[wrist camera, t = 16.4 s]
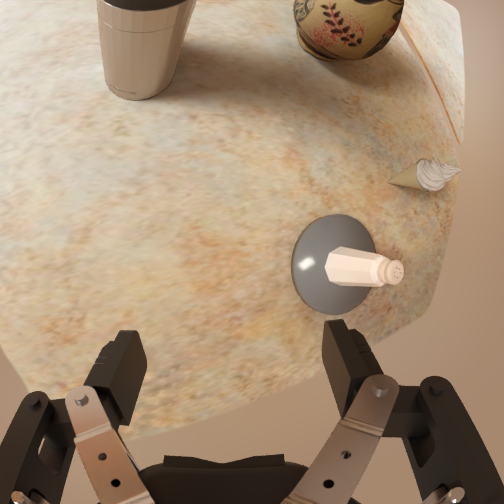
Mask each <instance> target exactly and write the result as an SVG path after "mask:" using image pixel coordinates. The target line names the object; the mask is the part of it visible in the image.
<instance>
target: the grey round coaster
mask: <svg viewBox="0 0 504 504" xmlns="http://www.w3.org/2000/svg"><path fill="white" fill-rule="evenodd" d="M340 246H341V247H346V248H351V249H356V250H361V251H365V252H370V253H375V254H376V251H375V247H374V243H373V241H372V238H371V236H370V234H369V233H368V231H367V230H366V228H365V227H364V226H363V225H362V224H361V223H360V222H359V221H357V220H356V219H354V218H352V217H349V216H346V215H338V214H337V215H329V216H324V217H320V218H318V219H316V220H315V221H313V222H312V223H310V224H309V225H308V226H307V227H306V228H305V229H304V230H303V232H302V233H301V235H300V236H299V238H298V240H297V242H296V244H295V247H294V250H293V254H292V261H291V273H292V279H293V283H294V286H295V289H296V291H297V293H298V295H299V296H300V298H301V299H302V300H303V301H304V302H305V303H306V304H307V305H308V306H309V307H311V308H312V309H314V310H316V311H319V312H322V313H325V314H329V315H339V314H344V313H347V312H349V311H351V310H352V309H354V308H355V307H357V306H358V305H359V304H360V303H361V302H362V301H363V300H364V299H365V297H366V296H367V294H368V293H369V291H370V289H371V287H369V286H340V285H338V284H335V283H333V282H330V281H329V278H328V276H327V273H326V270H325V264H326V261H327V258H328V255H329V253H330V252H332V251H333V250H335V249H337V248H338V247H340Z"/></svg>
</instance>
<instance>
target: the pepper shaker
mask: <svg viewBox="0 0 504 504" xmlns="http://www.w3.org/2000/svg"><path fill="white" fill-rule="evenodd" d="M325 270H326V273H327V276H328V278H329V281H330V282H333V283H335V284H338V285H340V286H369V287H381V286H383V285H384V284H385V283H387V284H391V285H397V284H399V283H400V282H401V280H402V279H403V276H404V267H403V265H402V263H401V262H400V261H399V260H389V259H388V258H386V257H384V256H382V255H379V254H375V253H370V252H365V251H361V250H356V249H351V248H346V247H341V246H340V247H338V248H337V249H335V250H333V251H332V252H330V253H329V255H328V258H327V261H326V264H325Z"/></svg>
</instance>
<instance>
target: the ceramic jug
mask: <svg viewBox="0 0 504 504" xmlns="http://www.w3.org/2000/svg"><path fill="white" fill-rule="evenodd" d="M403 6H404V0H295V1H294V9H293V11H294V18H295V22H296V25H297V36H298V40H299V43H300V45H301V46H302V48H303V49H305V50H306V51H308V52H309V53H311V54H312V55H314V56H315V57H317V58H320V59H323V60H327V61H335V60H339V59H341V60H360V59H364V58H367V57H370V56H372V55H373V54H375V53H376V52H378V51H379V50H381V49H382V48H383V47H384V46H385V45H386V44H387V43H388V42H389V40H390V39H391V37H392V36H393V35H394V33H395V32H396V30H397V28H398V25H399V23H400V19H401V15H402V10H403ZM289 63H290V62H289Z"/></svg>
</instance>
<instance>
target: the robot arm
mask: <svg viewBox="0 0 504 504" xmlns="http://www.w3.org/2000/svg"><path fill="white" fill-rule="evenodd" d="M196 1H197V0H97V11H98V22H99V34H100V43H101V52H102V60H103V68H104V75H105V80H106V84H107V86H108V87H109V89H110V90H111V91H112V92H113V93H114V94H116V95H117V96H119V97H122V98H125V99H129V100H142V99H147V98H150V97H153V96H155V95H157V94H159V93H160V92H162V91H163V90H164V89H165V88H166V87H167V86H168V85H169V83H170V82H171V80H172V78H173V75H174V71H175V68H176V64H177V61H178V58H179V54H180V51H181V47H182V44H183V41H184V37H185V34H186V31H187V28H188V25H189V22H190V19H191V16H192V13H193V10H194V7H195V4H196ZM322 359H323V363H324V366H325V369H326V372H327V375H328V378H329V382H330V385H331V388H332V391H333V394H334V397H335V400H336V403H337V406H338V410H339V413H340V416H341V419H340V421H339V422H338V423H337V425H336V427H335V428H334V430H333V432H332V433H331V435H330V437H329V438H328V440H327V442H326V443H325V445H324V446H323V448H322V449H321V451H320V452H319V454H318V455H317V457H316V458H315V460H314V461H313V463H312V464H311V466H310V467H309V468H308V467H306V466H304V465H300V464H297V463H292V462H285V461H284V454H278V455H266V456H253V457H249V458H245V459H242V460H237V461H233V462H228V463H216V462H212V461H207V460H202V459H199V458H194V457H182V456H166V455H165V456H164V461H163V463H160V464H156V465H152V466H150V467H147V468H145V469H143V470H140V468H139V467H138V465H137V463H136V462H135V460H134V459H133V457H132V455H131V454H130V452H129V450H128V448H127V446H126V445H125V443H124V441H123V439H122V437H121V435H120V434H119V432H118V428H119V425H126V426H129V424H130V421H131V418H132V414H133V411H134V408H135V404H136V401H137V398H138V395H139V392H140V389H141V385H142V382H143V379H144V376H145V373H146V370H147V359H146V355H145V352H144V349H143V346H142V343H141V340H140V336H139V333H138V332H137V331H136V330H121V331H119V333H118V335H117V337H116V338H115V340H114V341H110V342H109V343H108V344H107V345H105V346H104V347H103V348H102V350H101V352H100V354H99V356H98V358H97V359H96V361H95V364H94V365H93V367H92V369H91V371H90V373H89V375H88V377H87V379H86V381H85V383H84V385H83V386H79V387H76V388H74V389H72V390H71V391H70V392H69V393H68V394H67V396H66V398H64V399H56V400H50V399H49V398H48V396H47V395H46V394H45V393H44V392H41V391H35V392H32V393H30V394H28V395H27V396H26V397H25V398H24V399H23V401H22V402H21V404H20V406H19V408H18V410H17V412H16V414H15V416H14V418H13V420H12V422H11V424H10V426H9V428H8V430H7V433H6V435H5V437H4V439H3V441H2V443H1V445H0V504H60V501H61V497H62V493H63V489H64V485H65V482H66V478H67V474H68V471H69V468H70V464H71V461H72V457H73V454H74V451H75V448H76V447H77V450H78V453H79V455H80V457H81V460H82V463H83V465H84V468H85V470H86V472H87V475H88V477H89V479H90V481H91V484H92V486H93V488H94V490H95V492H96V495H97V497H98V499H99V501H100V502H99V503H98V504H361V503H359V502H357V501H356V500H355V499H353V498H352V497H351V496H352V494H353V492H354V490H355V489H356V487H357V485H358V483H359V481H360V479H361V477H362V475H363V474H364V471H365V470H366V468H367V466H368V464H369V462H370V460H371V457H372V455H373V453H374V451H375V449H376V447H377V445H378V442H379V440H380V438H381V437H401V438H402V440H403V443H404V446H405V449H406V452H407V454H408V458H409V461H410V463H411V467H412V469H413V473H414V476H415V479H416V482H417V485H418V488H419V491H420V495H421V498H422V501H423V502H422V503H421V504H504V485H503V483H502V481H501V478H500V476H499V474H498V472H497V470H496V467H495V465H494V463H493V461H492V459H491V457H490V455H489V453H488V451H487V449H486V447H485V445H484V443H483V441H482V439H481V437H480V435H479V433H478V431H477V429H476V427H475V425H474V423H473V422H472V420H471V418H470V416H469V414H468V412H467V411H466V409H465V407H464V405H463V403H462V402H461V400H460V398H459V396H458V395H457V393H456V392H455V390H454V388H453V386H452V385H451V383H450V382H449V381H448V380H446V379H445V378H442V377H439V376H430V377H427V378H425V379H424V380H423V381H422V382H421V384H420V386H401V385H398V383H397V382H396V380H394V379H393V378H392V377H390V376H387V375H384V373H383V371H382V369H381V368H380V366H379V364H378V362H377V360H376V358H375V356H374V354H373V353H372V352H371V348H370V347H369V345H368V343H367V341H366V339H365V337H364V336H363V335H362V334H361V333H360V332H358V331H357V330H356V329H351V330H348V328H347V326H346V324H345V322H344V320H343V319H338V320H329V321H325V323H324V332H323V343H322ZM43 438H44V439H45V440H44V443H43V446H42V448H41V451H40V453H39V455H38V449H39V447H40V444H41V441H42V439H43Z"/></svg>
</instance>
